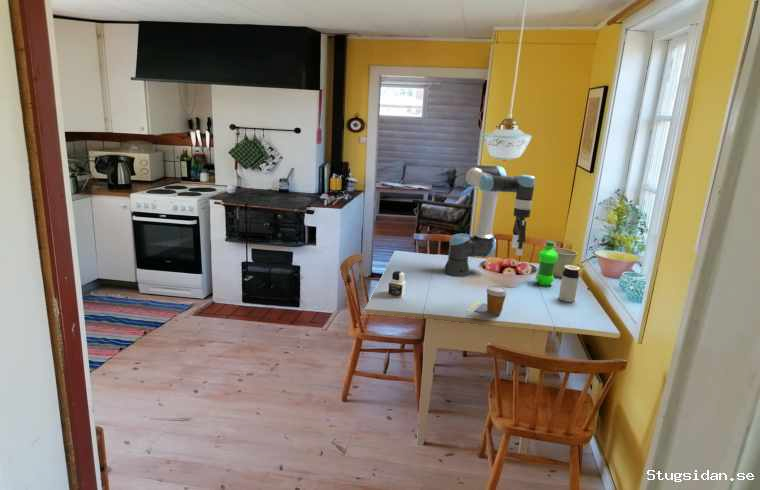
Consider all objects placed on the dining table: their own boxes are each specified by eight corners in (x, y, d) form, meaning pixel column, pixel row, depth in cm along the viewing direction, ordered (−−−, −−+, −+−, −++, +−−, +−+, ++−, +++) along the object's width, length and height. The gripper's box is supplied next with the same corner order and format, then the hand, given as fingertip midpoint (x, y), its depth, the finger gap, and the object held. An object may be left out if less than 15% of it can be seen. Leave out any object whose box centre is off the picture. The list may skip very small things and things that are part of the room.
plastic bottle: (557, 286, 276) (564, 244, 270) (541, 287, 272) (548, 245, 266) (545, 281, 285) (552, 240, 279) (530, 281, 281) (537, 240, 275)
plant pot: (556, 280, 288) (560, 254, 284) (542, 272, 302) (546, 247, 298) (577, 279, 292) (582, 254, 288) (563, 272, 305) (567, 247, 301)
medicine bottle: (387, 295, 245) (389, 273, 242) (392, 291, 251) (394, 269, 248) (401, 298, 242) (403, 275, 239) (405, 293, 249) (407, 271, 246)
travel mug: (574, 303, 251) (580, 270, 246) (558, 300, 253) (564, 268, 249) (574, 298, 258) (580, 266, 254) (558, 295, 261) (563, 264, 256)
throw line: (466, 311, 230) (466, 311, 230) (477, 302, 244) (477, 301, 243) (468, 312, 230) (468, 311, 230) (480, 302, 243) (480, 302, 243)
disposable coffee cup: (503, 310, 233) (506, 286, 230) (504, 317, 224) (507, 293, 221) (483, 307, 235) (486, 284, 232) (483, 315, 226) (486, 290, 223)
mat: (474, 311, 231) (474, 310, 231) (483, 304, 241) (483, 303, 241) (494, 316, 226) (494, 315, 226) (502, 309, 236) (502, 308, 236)
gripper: (535, 213, 216) (529, 259, 221) (525, 204, 240) (519, 245, 245) (518, 212, 216) (512, 257, 222) (510, 203, 240) (504, 244, 246)
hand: (516, 251), depth 234 cm, fingers open, 13 cm apart
